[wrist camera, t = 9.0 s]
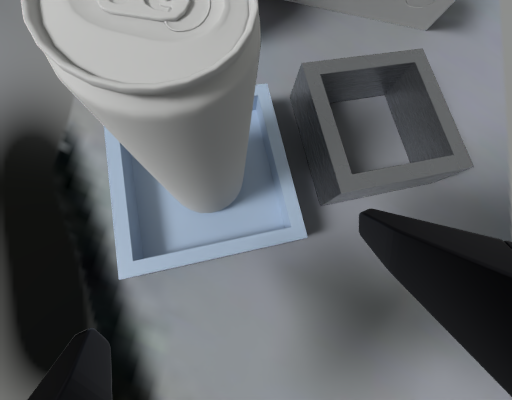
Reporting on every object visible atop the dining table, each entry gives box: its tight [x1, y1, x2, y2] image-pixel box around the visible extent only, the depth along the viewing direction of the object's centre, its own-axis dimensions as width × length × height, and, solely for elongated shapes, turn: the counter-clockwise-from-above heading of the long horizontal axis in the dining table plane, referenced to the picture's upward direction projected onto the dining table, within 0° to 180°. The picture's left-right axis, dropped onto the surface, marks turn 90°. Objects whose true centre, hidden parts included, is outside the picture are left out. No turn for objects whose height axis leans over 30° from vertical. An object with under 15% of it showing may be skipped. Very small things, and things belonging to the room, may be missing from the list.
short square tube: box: [290, 49, 474, 206], centre depth 17 cm, size 9×9×4 cm
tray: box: [104, 83, 308, 280], centre depth 16 cm, size 11×11×2 cm
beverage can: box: [21, 0, 261, 213], centre depth 11 cm, size 5×5×12 cm
